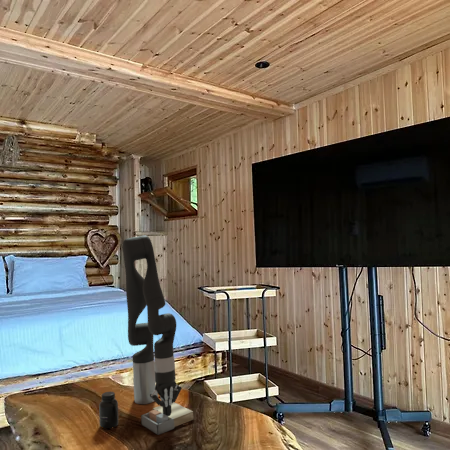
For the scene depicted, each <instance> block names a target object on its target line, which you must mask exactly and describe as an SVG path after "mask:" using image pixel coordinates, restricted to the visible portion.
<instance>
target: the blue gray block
mask: <svg viewBox="0 0 450 450" xmlns="http://www.w3.org/2000/svg"><path fill="white" fill-rule="evenodd" d="M156 420H157V424H159V423H162V422H164V421H167V420H168V416H167V415H164V414H162V413H161V414H159V415H157V416H156Z"/></svg>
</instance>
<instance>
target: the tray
mask: <svg viewBox="0 0 450 450" xmlns="http://www.w3.org/2000/svg"><path fill="white" fill-rule="evenodd" d="M157 411H158V410H157ZM140 419H141V420H140V421H141V426H143V427H145V428H146V429H148V430H149V431H151V432H152V433H154V434H156V435H162V434H164V433H167V432H169V431H172V430H174V429H175V427H174V419H173V418H172V419H170V420H167V421H164V422H162V423H159V424H157V423H156V422H154V421H152V420H151V419H150V416H149V412H147V413H144V414H141V415H140Z"/></svg>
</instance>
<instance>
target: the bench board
mask: <svg viewBox="0 0 450 450" xmlns="http://www.w3.org/2000/svg"><path fill="white" fill-rule="evenodd" d="M152 410H158V411H159V412H161V413H162V414H163V406H162V407H161V406H160V405H158V406H156V407H153V408H152ZM172 418H173V419H174V428H176V427H178V426H180V425H183V424H185V423H188V422H191V421H193V420H194V411H193V410H191V409H189V408H188V407H187V408H186V407H184V406H182V405H181V404H179V403H176V401H175V402H173V403H172V404H171V415H170V416H168V420H170V419H172Z"/></svg>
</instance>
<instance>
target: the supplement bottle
mask: <svg viewBox="0 0 450 450" xmlns="http://www.w3.org/2000/svg"><path fill="white" fill-rule="evenodd" d="M115 395H116V393H115V392H114V391H106V392H103V393H102V394H101V401H100V402H99V405H98V407H99V409H98V410H99V411H98V412H99V413H98V414H99V415H98V416H99V427H100V426H101V427H103V428H112V427H114V428H116V427H117V426H119V403H118V400H117V399H116V396H115ZM115 426H116V427H115ZM101 427H100V428H101ZM112 429H113V428H112Z"/></svg>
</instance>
